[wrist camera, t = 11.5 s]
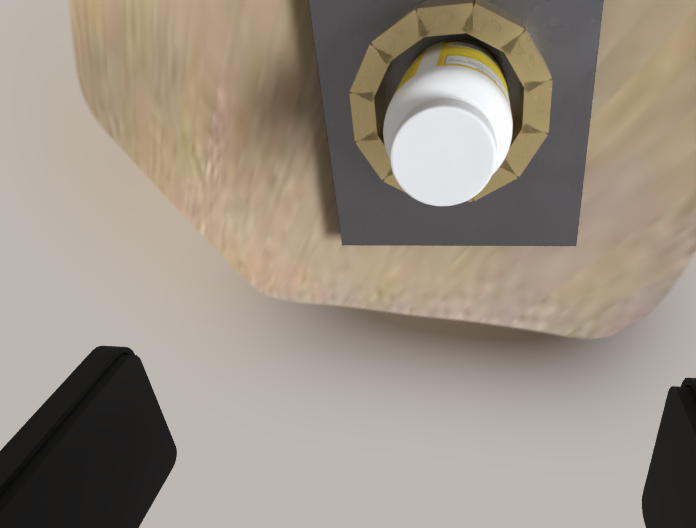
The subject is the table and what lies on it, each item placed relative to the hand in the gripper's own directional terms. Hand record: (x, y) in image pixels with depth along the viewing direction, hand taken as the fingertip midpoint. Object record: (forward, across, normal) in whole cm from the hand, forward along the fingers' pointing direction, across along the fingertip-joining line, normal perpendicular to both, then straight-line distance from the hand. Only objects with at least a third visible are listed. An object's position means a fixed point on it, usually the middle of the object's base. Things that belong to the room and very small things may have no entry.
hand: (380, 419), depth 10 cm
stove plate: (+24, 0, 0) cm, 24 cm away
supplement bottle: (+23, 0, 0) cm, 23 cm away
